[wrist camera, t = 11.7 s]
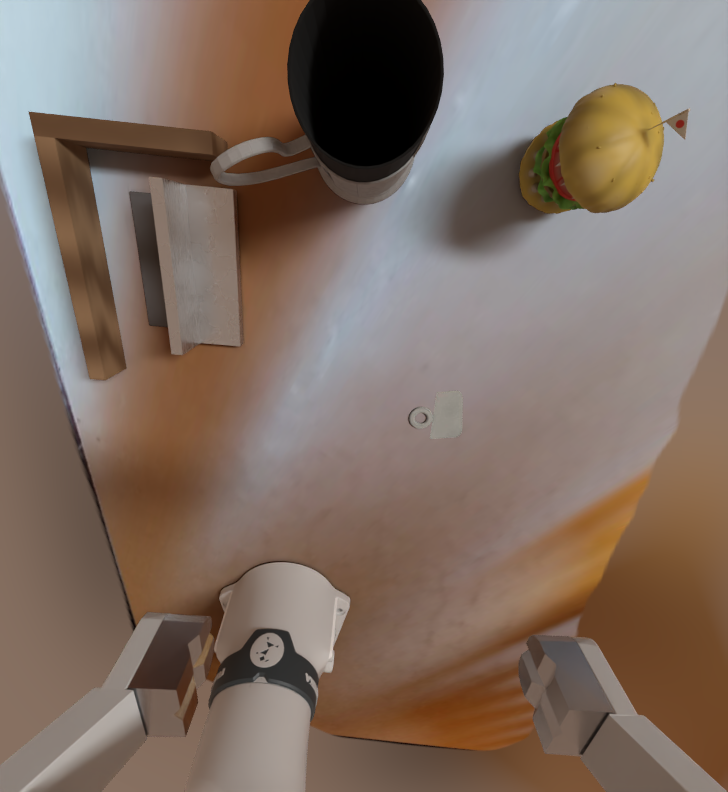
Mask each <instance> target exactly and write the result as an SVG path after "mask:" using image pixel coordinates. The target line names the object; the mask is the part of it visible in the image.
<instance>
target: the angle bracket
mask: <svg viewBox="0 0 728 792" xmlns="http://www.w3.org/2000/svg"><path fill="white" fill-rule="evenodd" d="M149 183H150V190H151V198H152V206H153V214H154V222H155V229H156V237H157V245H158V253H159V261H160V268H161V276H162V284H163V292H164V299H165V307H166V315H167V323H168V331H169V338H170V346H171V354H176V355H183V354H185V353H186V352H188V351H189V350H191V349H192V348H194V347H195V346H197V345H198V344H200V343H206V344H218V345H230V346H242V345H243V323H242V300H241V278H240V256H239V233H238V211H237V191H236V190H233V189H225V188H215V187H206V186H196V185H186V184H182V183H179V182H175V181H171V180H168V179H164V178H158V177H149Z"/></svg>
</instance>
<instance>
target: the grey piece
mask: <svg viewBox="0 0 728 792" xmlns="http://www.w3.org/2000/svg"><path fill="white" fill-rule="evenodd" d="M462 409H463V397H462V394H461V393H460V392H459V391H449V392H437V394H436V401H435V407H434V414H433V415H432V412H431V411H430V410H429V409H428V408H426V407H418V408H415V409H414V410H412V411H411V413H410V414H409V422H410V424H411V425H412V426H413V427H415V428H420V429H422V428H426V427H427V426H429V425H430V423H431V422H432V428H431V435H430V439H437V438H451V437H458V436H459V435H460V434H461V432H462ZM418 413H424V414H425V415H426V416H427V419H426V421H425V422H423V423H418V422H416V421H415V416H416V415H417V414H418ZM432 419H433V421H432Z"/></svg>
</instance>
